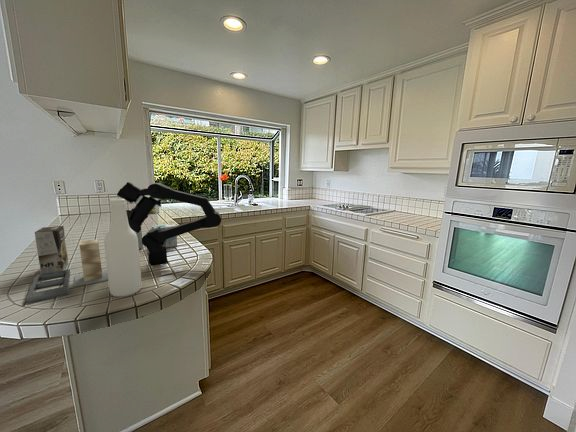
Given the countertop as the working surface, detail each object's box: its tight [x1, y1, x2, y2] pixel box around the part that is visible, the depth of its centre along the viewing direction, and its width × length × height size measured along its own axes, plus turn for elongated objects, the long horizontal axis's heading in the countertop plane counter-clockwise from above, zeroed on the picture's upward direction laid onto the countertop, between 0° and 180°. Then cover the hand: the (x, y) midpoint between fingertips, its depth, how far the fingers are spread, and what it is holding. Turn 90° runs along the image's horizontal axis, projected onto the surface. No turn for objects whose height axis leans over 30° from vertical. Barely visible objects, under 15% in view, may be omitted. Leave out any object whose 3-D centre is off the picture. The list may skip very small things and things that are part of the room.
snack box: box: [135, 196, 160, 215], centre depth 220 cm, size 21×6×15 cm, turn 72°
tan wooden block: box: [78, 239, 103, 281], centre depth 88 cm, size 5×5×13 cm
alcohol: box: [103, 198, 143, 298], centre depth 78 cm, size 9×9×30 cm
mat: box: [74, 269, 108, 288], centre depth 90 cm, size 10×10×1 cm
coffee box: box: [34, 225, 70, 274], centre depth 95 cm, size 9×6×16 cm
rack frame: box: [25, 268, 71, 304], centre depth 83 cm, size 9×20×2 cm, turn 39°
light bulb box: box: [151, 223, 178, 249], centre depth 127 cm, size 11×7×11 cm, turn 129°
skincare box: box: [135, 229, 144, 250], centre depth 123 cm, size 6×4×12 cm
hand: (116, 244), depth 95 cm, fingers open, 9 cm apart
